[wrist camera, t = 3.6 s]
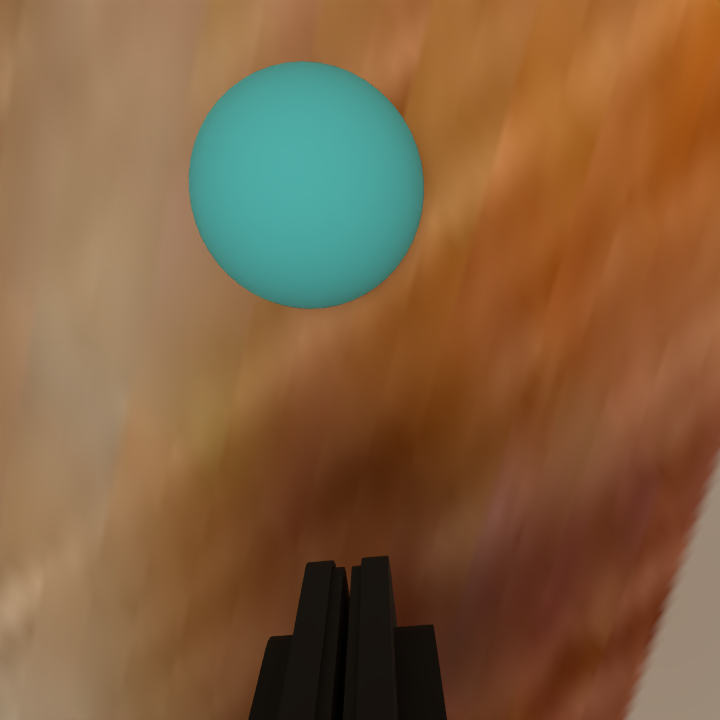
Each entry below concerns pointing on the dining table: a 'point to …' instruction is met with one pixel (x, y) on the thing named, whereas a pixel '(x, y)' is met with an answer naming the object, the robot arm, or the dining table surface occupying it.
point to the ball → (306, 185)
